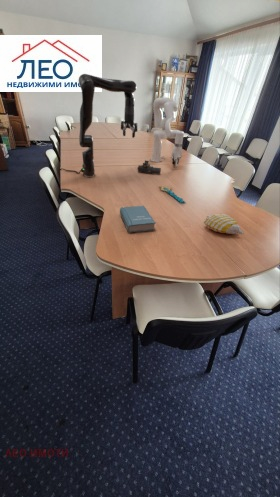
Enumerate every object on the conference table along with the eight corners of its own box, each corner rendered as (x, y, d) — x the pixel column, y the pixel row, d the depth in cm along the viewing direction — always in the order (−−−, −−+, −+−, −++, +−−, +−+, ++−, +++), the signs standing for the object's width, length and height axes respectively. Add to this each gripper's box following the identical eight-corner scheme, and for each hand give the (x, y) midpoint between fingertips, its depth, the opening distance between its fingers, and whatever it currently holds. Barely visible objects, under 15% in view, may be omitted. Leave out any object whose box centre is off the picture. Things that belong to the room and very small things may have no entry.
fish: (254, 225, 128) (232, 232, 118) (249, 236, 132) (228, 244, 123) (221, 208, 144) (199, 213, 134) (217, 218, 149) (196, 224, 139)
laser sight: (159, 175, 211) (160, 165, 205) (136, 173, 213) (137, 162, 208) (160, 172, 218) (161, 162, 212) (138, 170, 221) (139, 159, 215)
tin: (175, 166, 234) (176, 158, 229) (177, 168, 231) (178, 159, 226) (171, 167, 232) (173, 158, 227) (174, 168, 229) (175, 159, 224)
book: (154, 230, 131) (155, 222, 128) (128, 232, 126) (128, 225, 124) (143, 212, 148) (143, 205, 145) (119, 214, 144) (120, 207, 141)
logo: (158, 186, 187) (158, 185, 187) (168, 186, 190) (168, 185, 189) (173, 203, 162) (174, 202, 161) (185, 203, 164) (186, 201, 164)
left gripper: (139, 114, 168) (138, 137, 178) (124, 112, 174) (124, 134, 183) (134, 114, 163) (133, 138, 173) (118, 112, 168) (118, 136, 178)
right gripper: (181, 143, 225) (178, 162, 236) (169, 145, 217) (166, 164, 228) (186, 145, 220) (183, 164, 231) (174, 146, 212) (171, 166, 223)
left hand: (128, 136), depth 178 cm, fingers open, 8 cm apart
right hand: (175, 164), depth 229 cm, fingers closed on tin, 4 cm apart
